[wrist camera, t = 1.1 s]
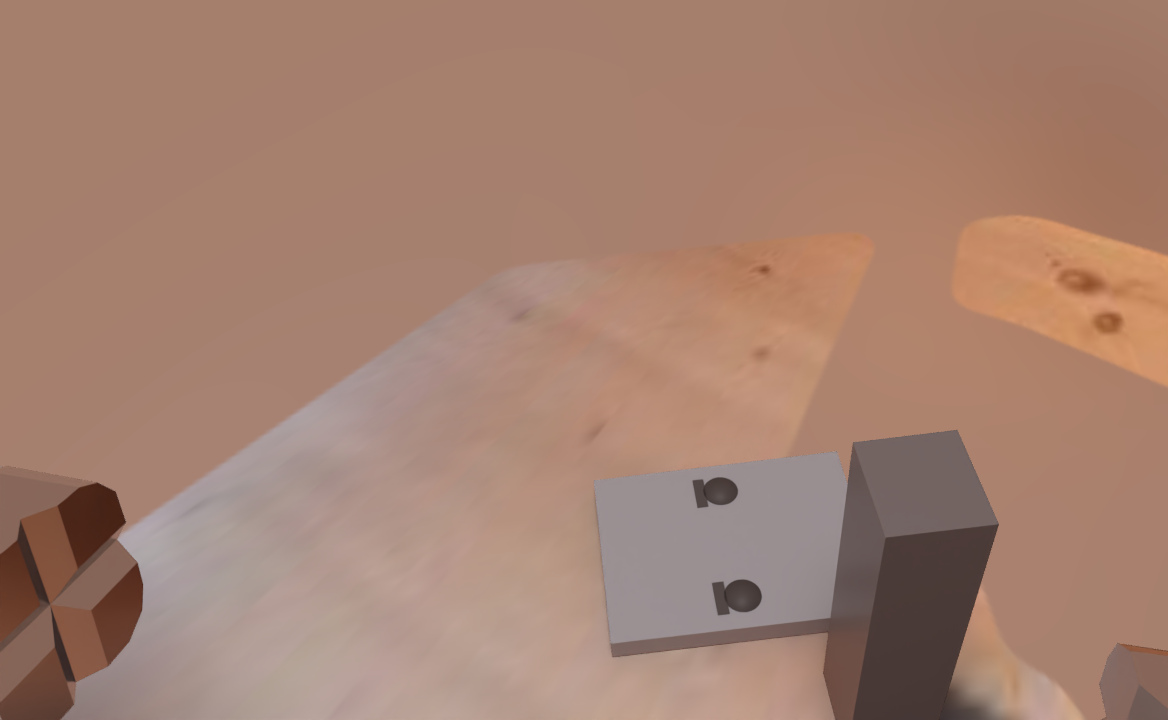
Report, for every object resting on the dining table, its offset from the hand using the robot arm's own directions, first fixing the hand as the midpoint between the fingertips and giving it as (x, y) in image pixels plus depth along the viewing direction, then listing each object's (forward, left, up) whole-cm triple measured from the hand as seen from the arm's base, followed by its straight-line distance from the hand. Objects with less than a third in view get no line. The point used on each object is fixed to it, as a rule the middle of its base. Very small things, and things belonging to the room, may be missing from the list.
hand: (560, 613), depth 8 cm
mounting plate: (+7, +33, -48) cm, 58 cm away
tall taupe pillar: (+13, +22, -48) cm, 54 cm away
